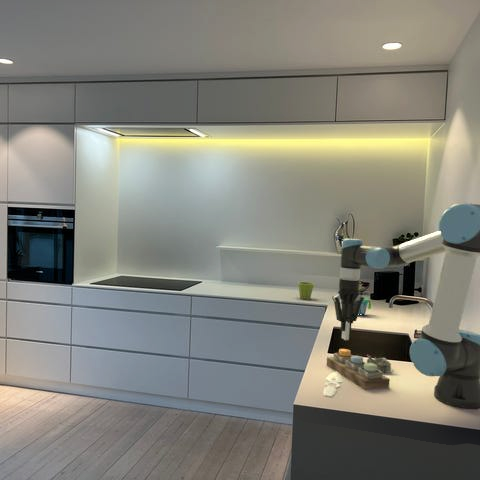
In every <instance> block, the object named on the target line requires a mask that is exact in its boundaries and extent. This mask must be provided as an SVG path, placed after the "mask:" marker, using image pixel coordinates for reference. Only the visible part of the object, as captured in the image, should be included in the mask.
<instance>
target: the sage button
mask: <svg viewBox="0 0 480 480" xmlns="http://www.w3.org/2000/svg"><path fill="white" fill-rule="evenodd" d="M364 371H366V372H368V373H373V372H377V364H373V363H367V362H365V363H364Z"/></svg>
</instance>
